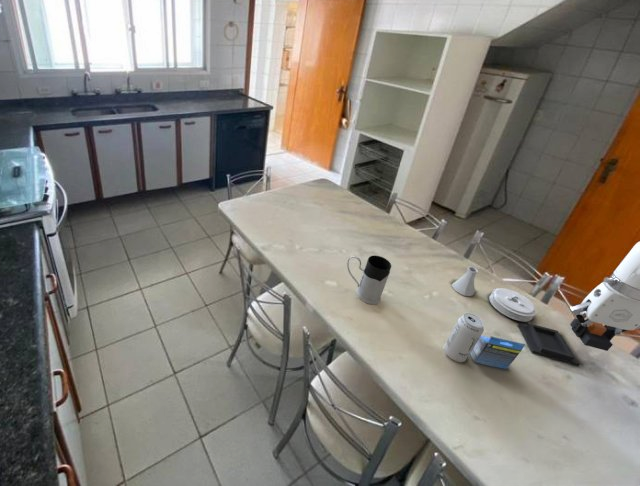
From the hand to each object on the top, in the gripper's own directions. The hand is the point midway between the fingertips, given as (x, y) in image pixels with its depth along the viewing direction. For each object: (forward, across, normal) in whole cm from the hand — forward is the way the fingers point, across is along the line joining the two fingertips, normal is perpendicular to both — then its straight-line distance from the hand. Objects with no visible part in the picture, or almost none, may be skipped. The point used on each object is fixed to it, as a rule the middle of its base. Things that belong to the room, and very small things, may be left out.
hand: (588, 336), depth 89 cm
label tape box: (+16, -20, -5) cm, 26 cm away
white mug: (+15, -56, +11) cm, 59 cm away
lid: (+16, -5, +23) cm, 28 cm away
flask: (+16, -19, +27) cm, 36 cm away
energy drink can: (+16, -29, -6) cm, 34 cm away
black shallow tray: (+15, +1, +10) cm, 18 cm away
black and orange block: (0, 0, 0) cm, 0 cm away
